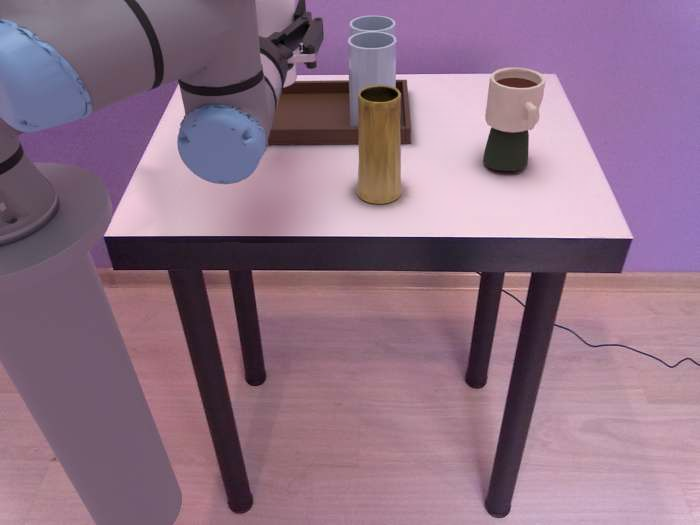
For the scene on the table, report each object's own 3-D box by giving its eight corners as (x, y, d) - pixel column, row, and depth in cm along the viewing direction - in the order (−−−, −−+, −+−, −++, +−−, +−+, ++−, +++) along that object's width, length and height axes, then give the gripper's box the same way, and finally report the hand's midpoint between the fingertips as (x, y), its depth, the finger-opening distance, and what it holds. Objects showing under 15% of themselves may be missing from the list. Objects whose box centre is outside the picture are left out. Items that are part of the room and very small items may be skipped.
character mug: (545, 180, 86) (564, 91, 77) (498, 188, 84) (511, 98, 76) (510, 142, 94) (523, 58, 85) (466, 150, 92) (475, 65, 84)
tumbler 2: (349, 138, 96) (347, 49, 87) (351, 117, 102) (348, 31, 93) (395, 138, 96) (396, 48, 87) (394, 117, 101) (395, 30, 92)
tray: (243, 145, 96) (241, 129, 94) (260, 95, 109) (258, 81, 107) (410, 143, 94) (411, 128, 93) (406, 93, 108) (406, 79, 106)
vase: (384, 210, 81) (385, 109, 72) (347, 195, 84) (344, 96, 75) (410, 189, 85) (414, 90, 76) (373, 175, 88) (373, 78, 79)
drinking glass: (293, 68, 88) (282, -47, 78) (309, 86, 83) (299, -34, 73) (247, 77, 86) (230, -40, 76) (260, 96, 81) (244, -26, 71)
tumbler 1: (351, 117, 102) (348, 31, 93) (352, 98, 107) (350, 15, 98) (394, 117, 101) (395, 30, 92) (393, 98, 107) (394, 15, 98)
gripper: (165, 114, 68) (210, 37, 86) (340, 113, 67) (349, 36, 85) (149, 47, 64) (200, -20, 81) (337, 45, 63) (347, -22, 80)
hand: (276, 9), depth 83 cm, fingers closed on drinking glass, 6 cm apart
